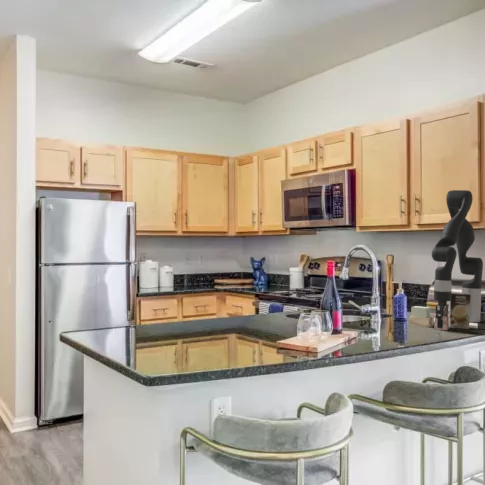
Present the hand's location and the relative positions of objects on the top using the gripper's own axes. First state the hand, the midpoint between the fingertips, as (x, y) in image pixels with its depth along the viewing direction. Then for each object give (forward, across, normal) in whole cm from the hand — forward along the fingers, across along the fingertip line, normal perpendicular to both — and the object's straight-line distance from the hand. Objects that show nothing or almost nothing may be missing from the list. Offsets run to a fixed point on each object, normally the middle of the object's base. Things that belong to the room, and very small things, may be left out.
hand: (441, 327), depth 246 cm
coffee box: (+1, -13, +4) cm, 14 cm away
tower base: (+1, -6, -11) cm, 12 cm away
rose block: (+1, 0, 0) cm, 1 cm away
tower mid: (-3, -6, -11) cm, 13 cm away
